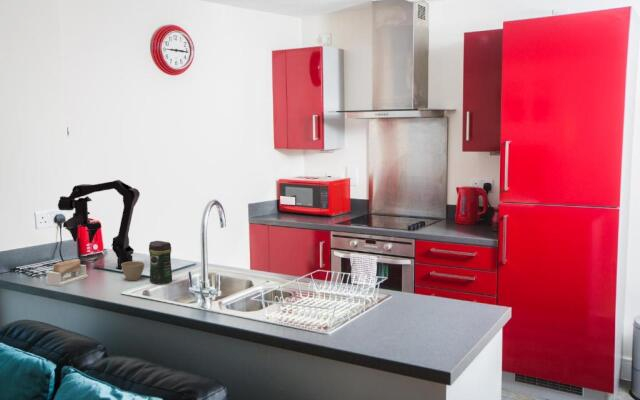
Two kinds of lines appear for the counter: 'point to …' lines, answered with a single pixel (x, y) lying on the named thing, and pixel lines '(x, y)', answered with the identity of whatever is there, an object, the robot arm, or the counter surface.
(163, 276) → the coffee jar
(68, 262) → the tan wooden bar
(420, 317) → the counter surface
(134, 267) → the flower pot
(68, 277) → the stand
